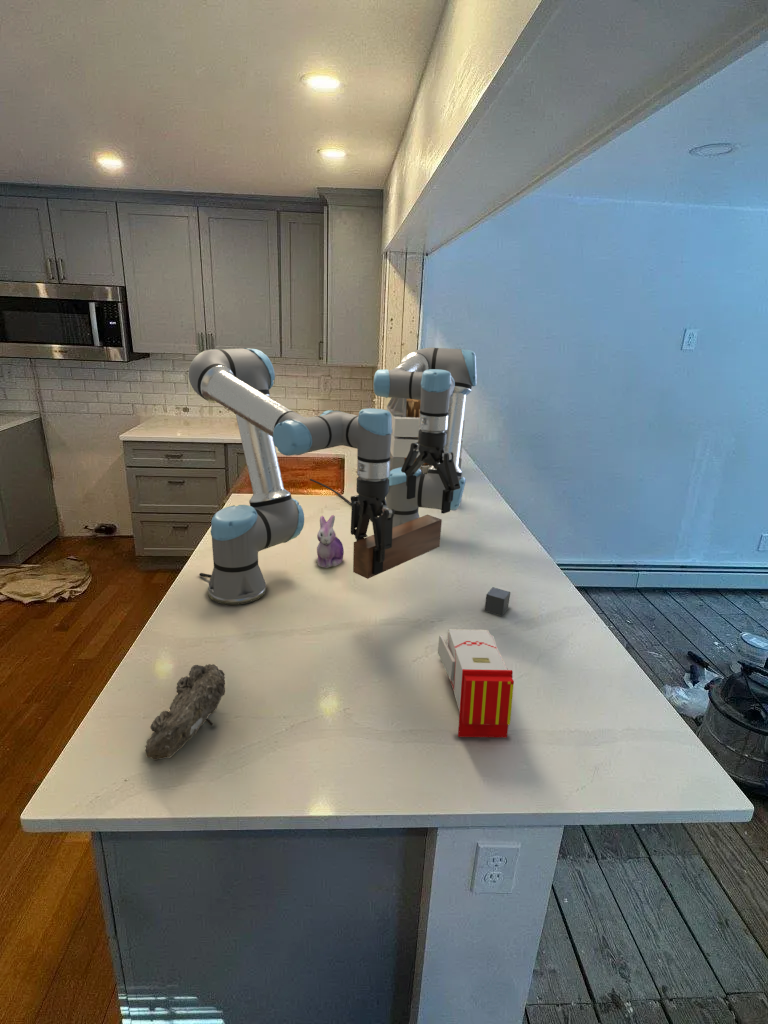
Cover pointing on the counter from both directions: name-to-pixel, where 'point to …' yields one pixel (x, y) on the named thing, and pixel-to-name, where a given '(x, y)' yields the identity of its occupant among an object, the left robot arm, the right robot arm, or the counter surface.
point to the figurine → (328, 544)
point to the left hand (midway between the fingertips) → (369, 568)
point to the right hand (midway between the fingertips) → (427, 505)
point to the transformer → (406, 430)
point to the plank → (399, 545)
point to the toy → (478, 682)
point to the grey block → (497, 601)
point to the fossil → (186, 710)
